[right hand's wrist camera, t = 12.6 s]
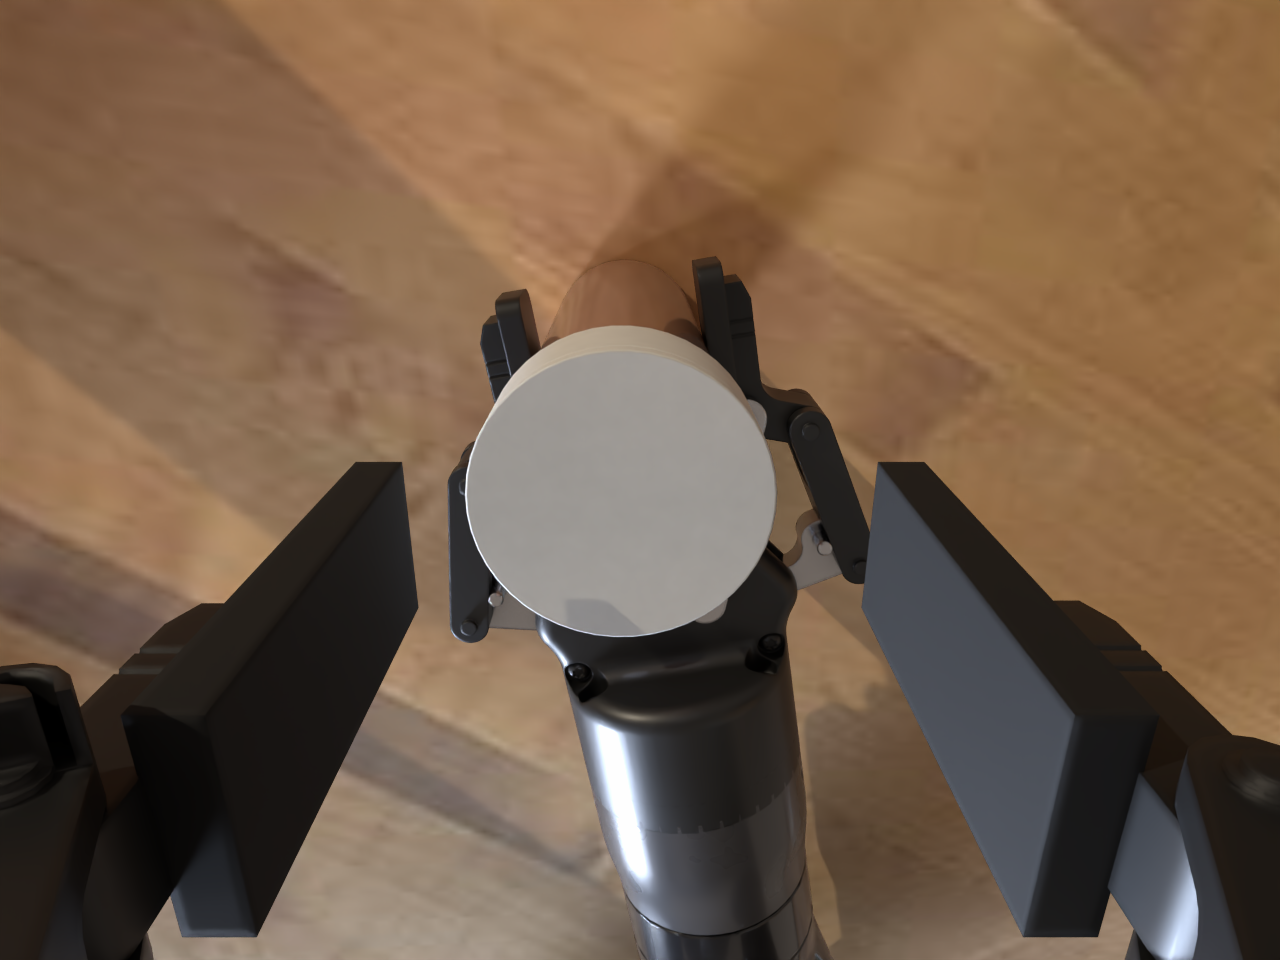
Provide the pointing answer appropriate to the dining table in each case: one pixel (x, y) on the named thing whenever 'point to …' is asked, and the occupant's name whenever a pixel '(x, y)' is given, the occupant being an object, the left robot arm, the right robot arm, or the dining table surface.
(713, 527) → the lid
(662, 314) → the jar
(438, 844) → the dining table surface
